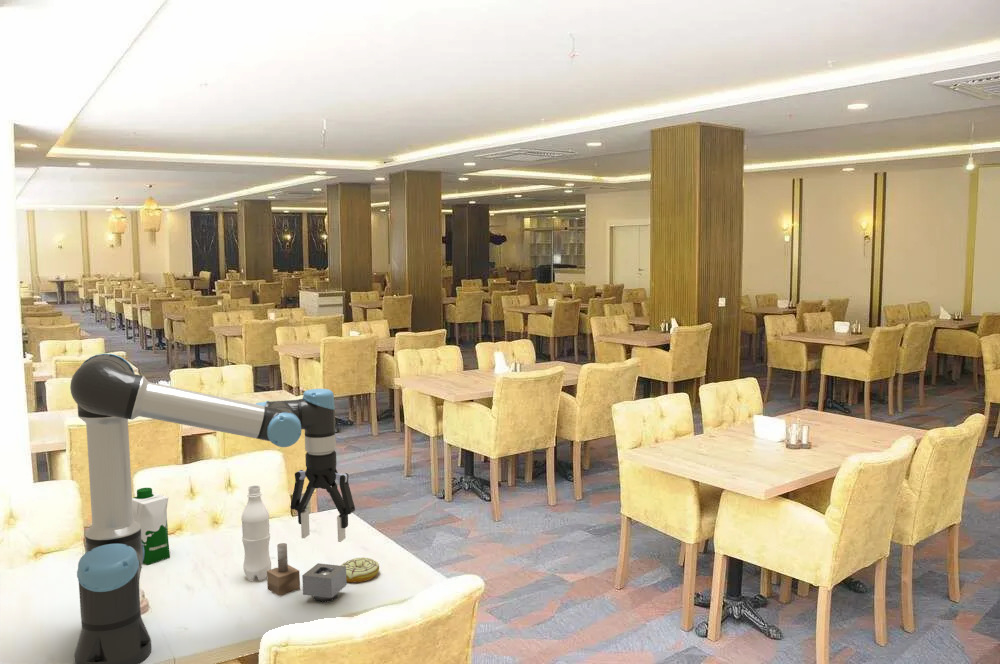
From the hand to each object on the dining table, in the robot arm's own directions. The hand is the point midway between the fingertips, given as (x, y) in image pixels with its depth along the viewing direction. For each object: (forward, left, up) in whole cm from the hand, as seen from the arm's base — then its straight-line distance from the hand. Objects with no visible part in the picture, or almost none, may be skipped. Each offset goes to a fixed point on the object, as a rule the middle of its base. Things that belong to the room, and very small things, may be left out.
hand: (323, 538), depth 204 cm
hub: (0, 0, -16) cm, 16 cm away
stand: (-5, +12, -16) cm, 20 cm away
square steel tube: (0, 0, -14) cm, 14 cm away
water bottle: (-6, +24, -16) cm, 29 cm away
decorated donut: (+14, +5, -16) cm, 22 cm away
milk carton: (-21, +58, -16) cm, 64 cm away
